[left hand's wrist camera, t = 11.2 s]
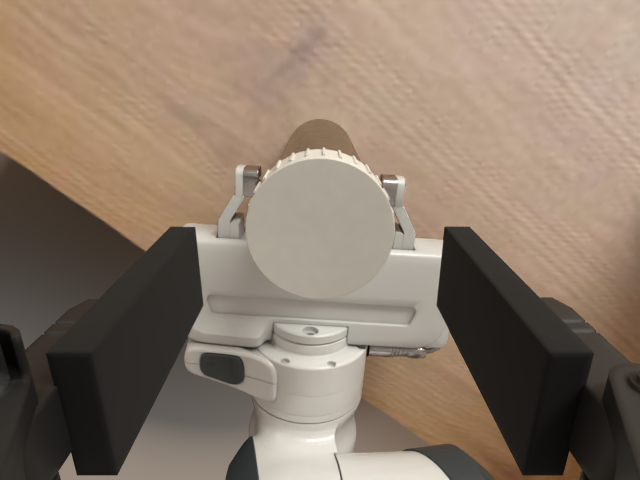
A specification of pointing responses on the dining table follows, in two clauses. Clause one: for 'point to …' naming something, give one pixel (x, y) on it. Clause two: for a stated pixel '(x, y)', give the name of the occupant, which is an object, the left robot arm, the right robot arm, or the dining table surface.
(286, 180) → the lid
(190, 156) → the dining table surface
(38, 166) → the dining table surface
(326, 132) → the jar
